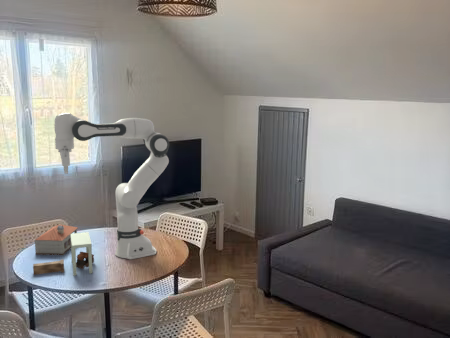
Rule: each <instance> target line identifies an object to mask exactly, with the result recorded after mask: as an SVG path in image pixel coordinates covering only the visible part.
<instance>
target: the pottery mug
mask: <svg viewBox="0 0 450 338" xmlns="http://www.w3.org/2000/svg"><path fill="white" fill-rule="evenodd" d="M94 255H95V254H93V253H92V264H94V263H95V257H94ZM85 267H86V268H89V255H88V253H86V252H84V251H79V254H77V255H76V268H78V269H80V270H81V269H82V270H83V269H84V268H85Z"/></svg>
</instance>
